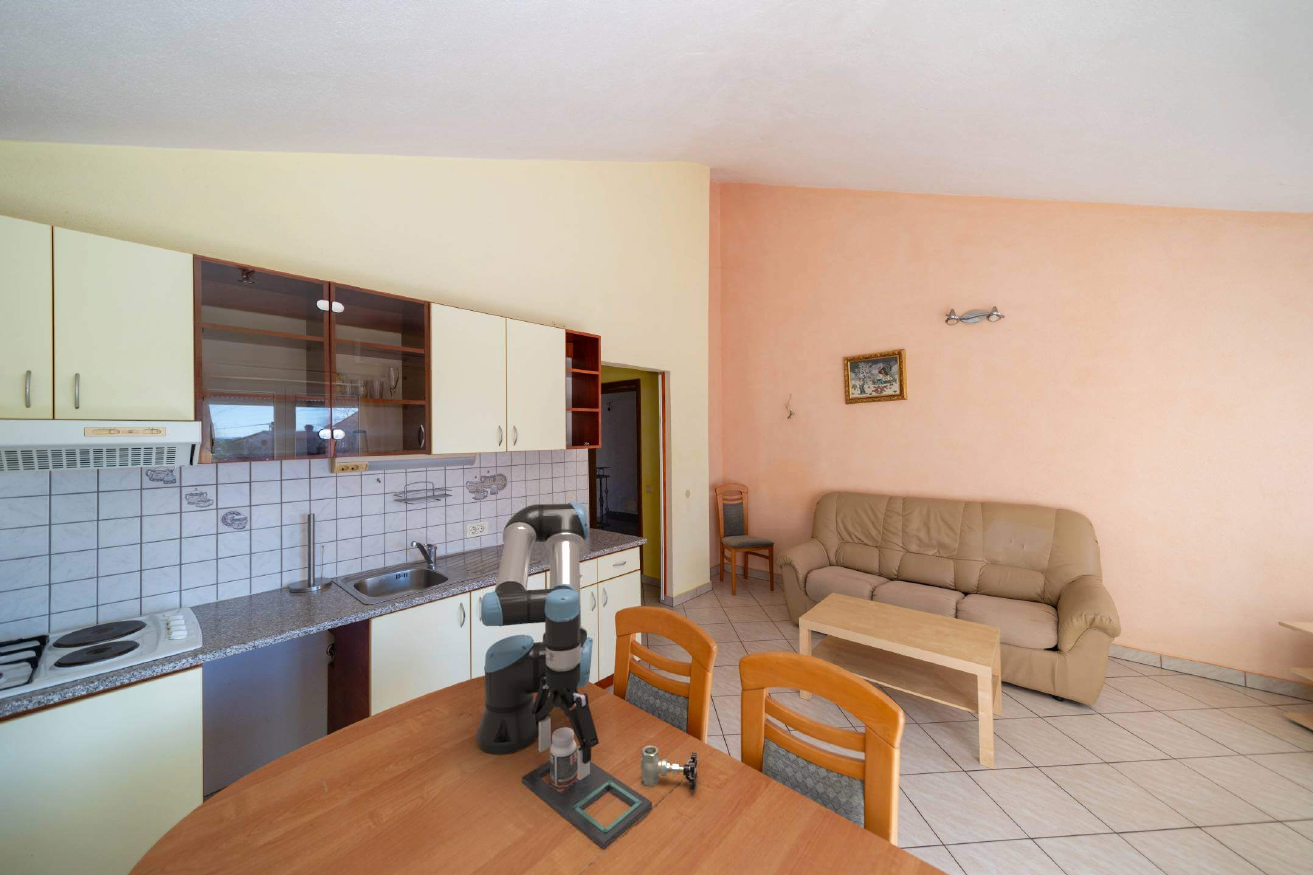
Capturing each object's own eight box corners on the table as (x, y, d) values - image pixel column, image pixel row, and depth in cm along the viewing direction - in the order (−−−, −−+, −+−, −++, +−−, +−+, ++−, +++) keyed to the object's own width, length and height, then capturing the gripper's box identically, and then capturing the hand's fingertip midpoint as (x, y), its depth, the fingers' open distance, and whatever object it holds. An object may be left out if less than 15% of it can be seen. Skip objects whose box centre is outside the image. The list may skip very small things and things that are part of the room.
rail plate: (521, 782, 103) (521, 776, 103) (569, 752, 113) (569, 746, 113) (603, 849, 86) (603, 841, 86) (652, 807, 95) (651, 800, 96)
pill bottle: (581, 773, 106) (581, 728, 106) (568, 791, 100) (568, 743, 100) (558, 768, 107) (558, 723, 108) (544, 785, 102) (544, 738, 102)
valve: (637, 790, 101) (694, 797, 98) (637, 758, 101) (693, 765, 98) (644, 769, 107) (697, 776, 105) (644, 739, 107) (697, 745, 105)
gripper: (516, 653, 110) (516, 746, 109) (587, 689, 93) (587, 799, 93) (543, 642, 115) (543, 731, 115) (615, 675, 99) (615, 778, 98)
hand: (563, 762), depth 104 cm, fingers open, 13 cm apart
